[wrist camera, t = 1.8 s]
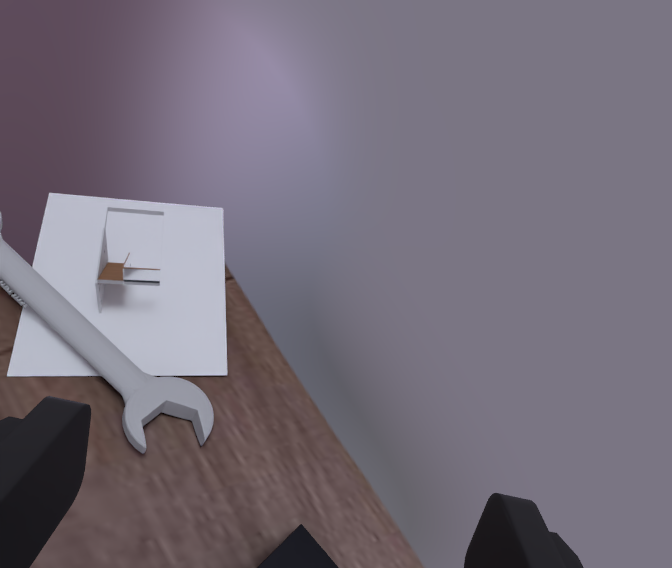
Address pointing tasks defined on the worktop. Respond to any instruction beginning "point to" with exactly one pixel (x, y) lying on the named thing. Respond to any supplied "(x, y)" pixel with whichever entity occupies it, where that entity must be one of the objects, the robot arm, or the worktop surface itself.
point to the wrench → (106, 355)
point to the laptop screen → (298, 553)
